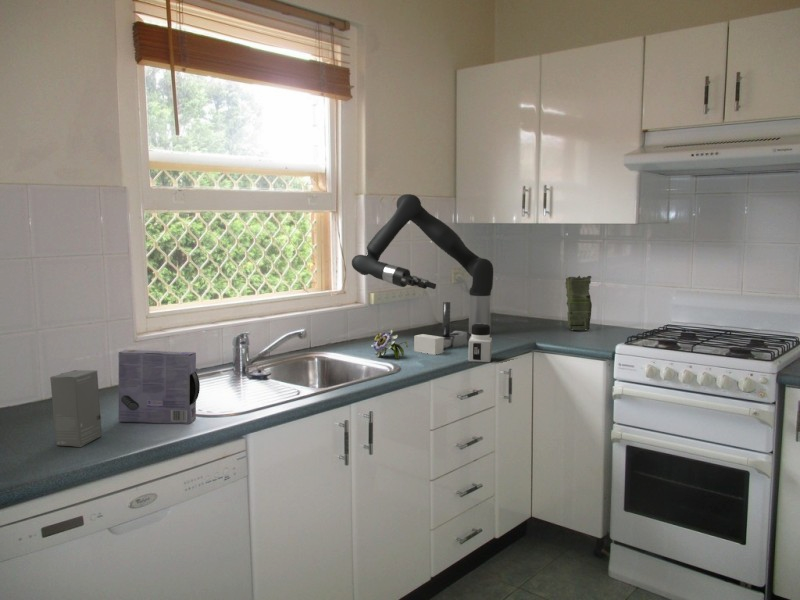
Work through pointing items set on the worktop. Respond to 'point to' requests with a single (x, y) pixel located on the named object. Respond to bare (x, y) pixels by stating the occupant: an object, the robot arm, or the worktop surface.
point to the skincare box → (76, 407)
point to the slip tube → (446, 325)
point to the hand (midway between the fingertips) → (431, 286)
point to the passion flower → (387, 344)
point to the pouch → (578, 302)
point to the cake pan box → (157, 386)
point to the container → (480, 343)
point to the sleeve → (459, 338)
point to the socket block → (428, 344)
